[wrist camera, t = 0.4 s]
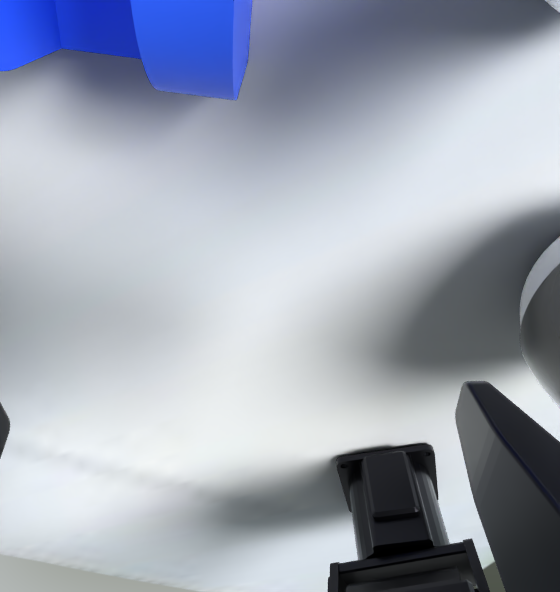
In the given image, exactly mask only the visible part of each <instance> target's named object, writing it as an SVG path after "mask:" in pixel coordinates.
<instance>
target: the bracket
mask: <svg viewBox="0 0 560 592" xmlns="http://www.w3.org/2000/svg"><path fill="white" fill-rule="evenodd" d="M251 11H252V0H0V71H9V70H13V69H16V68H18V67H20V66H23V65H25V64H27V63H29V62H32V61H34V60H36V59H39V58H41V57H43V56H45V55H48V54H50V53H52V52H55V51H57V50H59V49H69V50H77V51H84V52H92V53H100V54H108V55H115V56H123V57H131V58H138V59H142V62H143V66H144V69H145V72H146V74H147V77H148V79H149V81H150V83H151V84H152V86H153V87H154V88H155V89H156V90H159V91H166V92H174V93H182V94H189V95H197V96H205V97H213V98H221V99H229V100H236V99H237V97H238V93H239V90H240V87H241V83H242V80H243V77H244V73H245V70H246V66H247V63H248V52H249V39H250V25H251Z"/></svg>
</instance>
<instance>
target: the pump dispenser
mask: <svg viewBox="0 0 560 592" xmlns="http://www.w3.org/2000/svg"><path fill="white" fill-rule="evenodd" d="M520 326H521V329H520V346H521V351H522V354H523V357H524V360H525V362H526V364H527V366H528V367H529V369H530V371H531V372H532V374H533V375H534V377H535V378H536V380H537V381H538V383H539V384H540V385H541V387H542V388H543V389H544V391H545V392H546V393H547V394H548V395H549V397H550V398H551V399H552V400H553V401H554V402H555V404H556V405H557V406H558V407H559V408H560V237H558V238H557V239H556V240H555V241H554V242H553V243H552V244H551V245H550V246H549V247H548V248H547V249H546V250H545V251H544V252H543V253H542V255H541V256H540V257H539V258H538V260H537V261H536V263H535V264H534V266H533V268H532V269H531V271H530V273H529V275H528V277H527V279H526V282H525V285H524V288H523V291H522V295H521V300H520Z"/></svg>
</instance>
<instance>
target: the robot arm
mask: <svg viewBox="0 0 560 592" xmlns="http://www.w3.org/2000/svg"><path fill="white" fill-rule="evenodd" d="M455 418H456V425H457V429H458V434H459V438H460V442H461V447H462V451H463V456H464V460H465V464H466V469H467V473H468V478H469V482H470V486H471V490H472V494H473V498H474V502H475V505H476V508H477V511H478V514H479V517H480V520H481V522H482V525H483V528H484V531H485V534H486V537H487V540H488V543H489V545H490V548H491V551H492V554H493V557H494V560H495V563H496V565H497V568H498V571H499V574H500V577H501V580H502V582H503V585H504V588H505V591H506V592H560V442H559V441H558V440H557V439H555V438H554V437H553V436H552V435H551V434H549V433H548V432H547V431H546V430H545V429H544V428H542V427H541V426H540V425H539V424H538V423H536V422H535V421H534V420H533V419H532V418H530V417H529V416H528V415H527V414H526V413H524V412H523V411H522V410H521V409H520V408H519V407H517V406H516V405H515V404H514V403H513V402H511V401H510V400H509V399H508V398H507V397H505V396H504V395H503V394H502V393H501V392H499V391H498V390H497V389H496V388H495V387H493V386H492V385H491V384H490V383H488V382H486V381H467V382H465V383H464V384H463V385H462V388H461V392H460V396H459V400H458V404H457V408H456V413H455ZM9 430H10V421H9V418H8V416H7V414H6V412H5V410H4V408H3V406H2V405H1V403H0V458H1V455H2V452H3V449H4V446H5V443H6V440H7V437H8V434H9ZM336 465H337V470H338V473H339V477H340V480H341V483H342V487H343V490H344V494H345V497H346V501H347V504H348V508H349V511H350V512H352V517H353V524H354V532H355V540H356V548H357V555H358V560H357V561H351V562H346V563H339V562H336V563H331V564H330V577H328V592H490V590H489V587H488V584H487V581H486V578H485V575H484V573H483V570H482V567H481V564H480V561H479V558H478V555H477V552H476V549H475V546H474V543H473V540H472V539H466V540H463V542H459V543H453V544H450V543H449V539H448V536H447V533H446V529H445V526H444V522H443V519H442V515H441V512H440V508H439V505H438V489H437V477H436V465H435V454H434V450H433V447H432V446H431V445H428V444H425V445H418V446H411V447H404V448H397V449H391V450H384V451H377V452H370V453H363V454H357V455H350V456H343V457H339V458H338V459H337V460H336ZM473 586H477V589H474V588H473Z"/></svg>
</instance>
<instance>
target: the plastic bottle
mask: <svg viewBox="0 0 560 592" xmlns="http://www.w3.org/2000/svg"><path fill="white" fill-rule="evenodd" d="M545 1H546V2H547V3H548V4H549V5H551V6H552V7H553V8H554V9H556V10H557V11H558V12H559V13H560V0H545Z"/></svg>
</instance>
